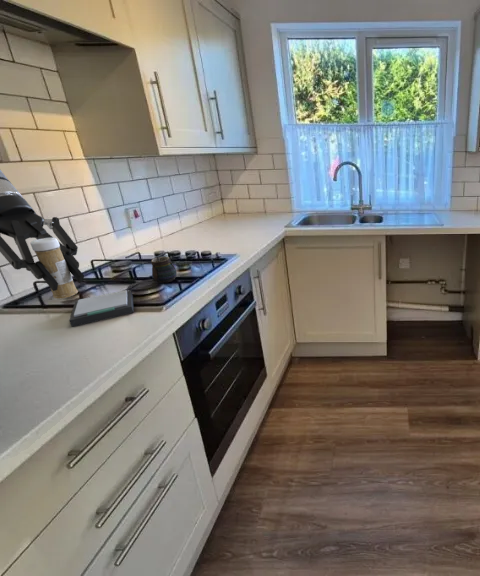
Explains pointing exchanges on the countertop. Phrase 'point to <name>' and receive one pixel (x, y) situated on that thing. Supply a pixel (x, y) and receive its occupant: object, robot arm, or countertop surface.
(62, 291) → the sprinkles bottle
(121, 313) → the scale
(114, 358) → the countertop surface
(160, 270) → the mate gourd
